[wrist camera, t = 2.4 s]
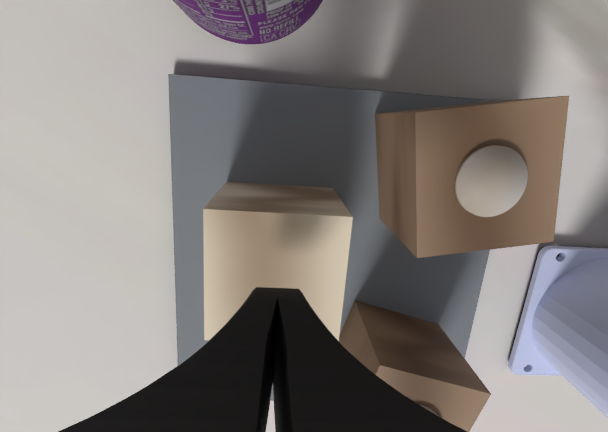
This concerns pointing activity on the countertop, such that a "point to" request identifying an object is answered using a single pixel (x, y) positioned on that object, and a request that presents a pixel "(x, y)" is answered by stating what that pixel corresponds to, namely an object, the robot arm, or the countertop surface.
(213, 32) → the beverage can
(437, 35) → the countertop surface
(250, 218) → the maple block
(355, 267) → the slate mat
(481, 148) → the walnut block
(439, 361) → the walnut block
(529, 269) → the countertop surface
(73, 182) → the countertop surface
